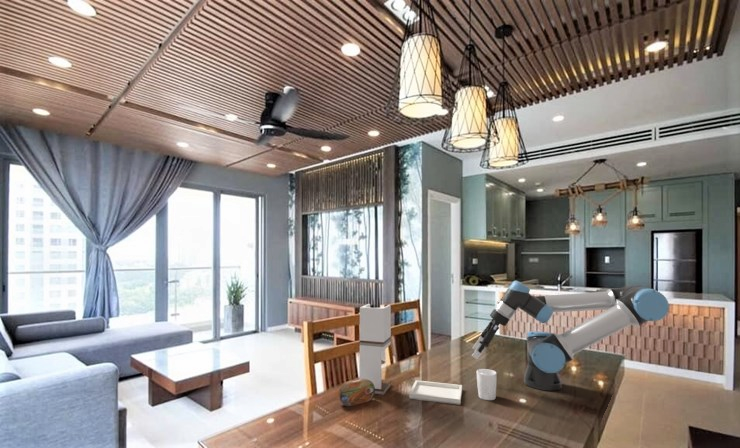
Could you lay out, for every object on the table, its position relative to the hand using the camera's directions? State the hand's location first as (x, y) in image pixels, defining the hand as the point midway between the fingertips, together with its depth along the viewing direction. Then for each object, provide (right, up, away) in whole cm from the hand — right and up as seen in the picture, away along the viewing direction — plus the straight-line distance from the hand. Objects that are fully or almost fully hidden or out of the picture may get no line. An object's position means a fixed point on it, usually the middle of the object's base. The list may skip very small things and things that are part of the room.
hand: (474, 353), depth 158 cm
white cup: (+2, -14, -11) cm, 18 cm away
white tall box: (-43, -15, -1) cm, 46 cm away
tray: (-18, -14, -8) cm, 24 cm away
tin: (-51, -14, -16) cm, 55 cm away
